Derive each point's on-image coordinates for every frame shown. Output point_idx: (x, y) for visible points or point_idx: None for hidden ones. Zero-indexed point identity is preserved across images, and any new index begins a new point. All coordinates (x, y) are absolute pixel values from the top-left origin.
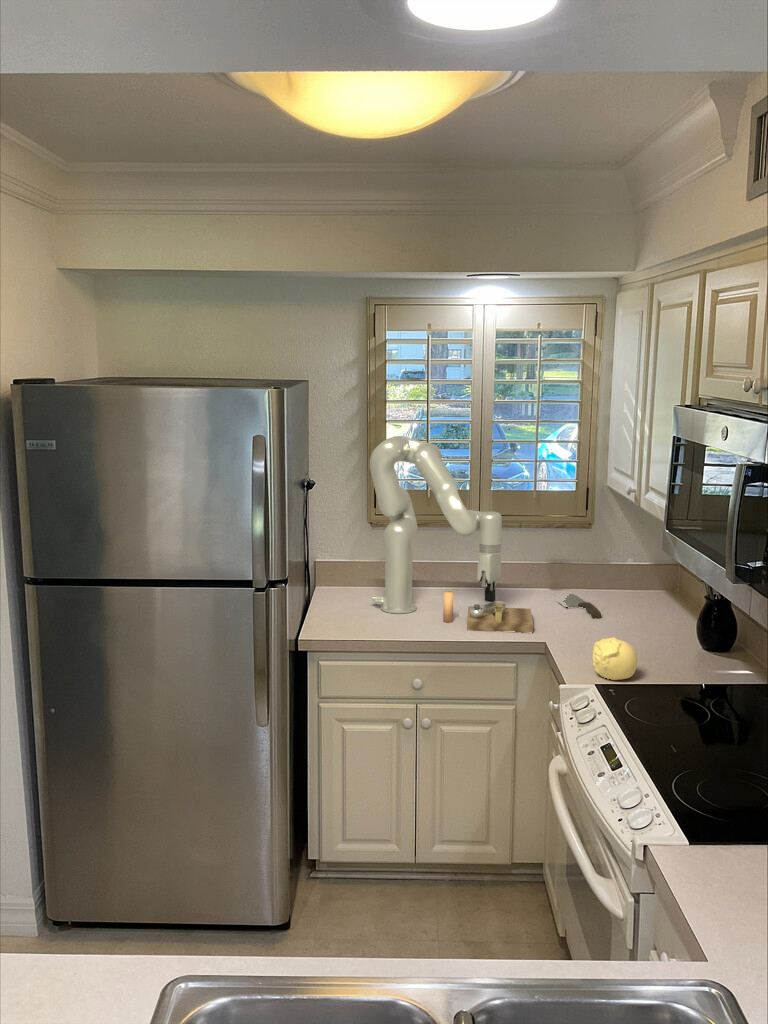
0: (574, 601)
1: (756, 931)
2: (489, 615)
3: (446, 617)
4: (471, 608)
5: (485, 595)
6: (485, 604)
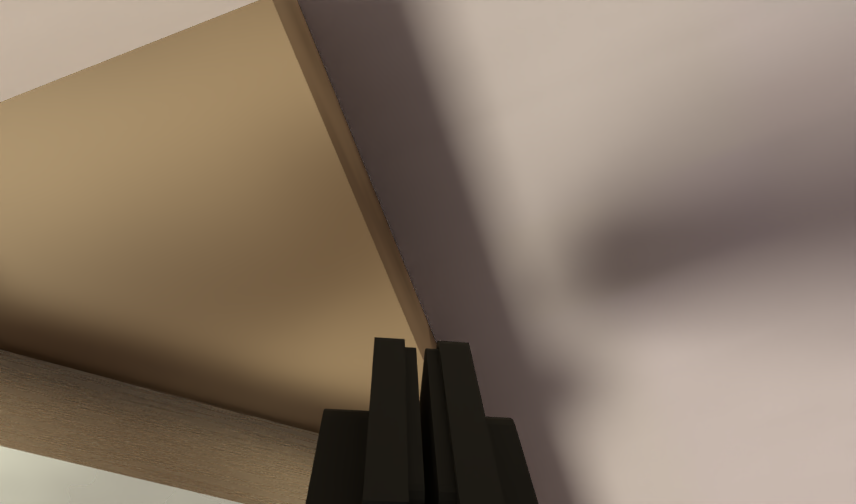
0: None
1: None
2: None
3: None
4: None
5: (370, 411)
6: (69, 462)
